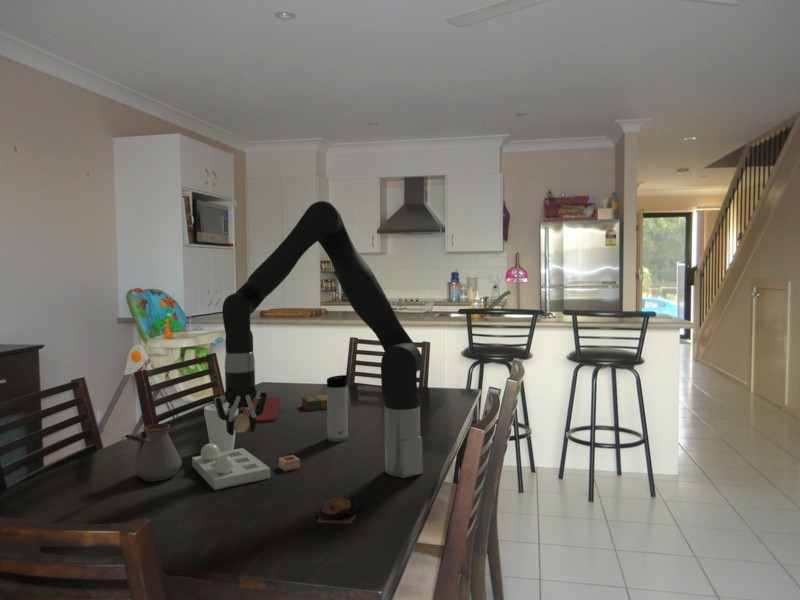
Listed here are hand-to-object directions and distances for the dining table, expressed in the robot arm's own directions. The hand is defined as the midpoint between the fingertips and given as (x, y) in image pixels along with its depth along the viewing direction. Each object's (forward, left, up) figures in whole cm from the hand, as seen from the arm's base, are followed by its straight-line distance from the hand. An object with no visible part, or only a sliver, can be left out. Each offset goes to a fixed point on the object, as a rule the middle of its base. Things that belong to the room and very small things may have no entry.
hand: (241, 432), depth 155 cm
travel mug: (+10, -34, -10) cm, 37 cm away
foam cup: (+20, -1, -10) cm, 22 cm away
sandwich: (-40, -8, -11) cm, 42 cm away
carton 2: (+55, -26, -11) cm, 62 cm away
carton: (+52, -50, -10) cm, 73 cm away
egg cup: (-6, -11, -10) cm, 16 cm away
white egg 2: (-6, +7, -8) cm, 12 cm away
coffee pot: (+4, +22, -10) cm, 25 cm away
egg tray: (0, +3, -10) cm, 10 cm away
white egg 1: (+6, +7, -8) cm, 12 cm away
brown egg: (0, 0, 0) cm, 0 cm away
